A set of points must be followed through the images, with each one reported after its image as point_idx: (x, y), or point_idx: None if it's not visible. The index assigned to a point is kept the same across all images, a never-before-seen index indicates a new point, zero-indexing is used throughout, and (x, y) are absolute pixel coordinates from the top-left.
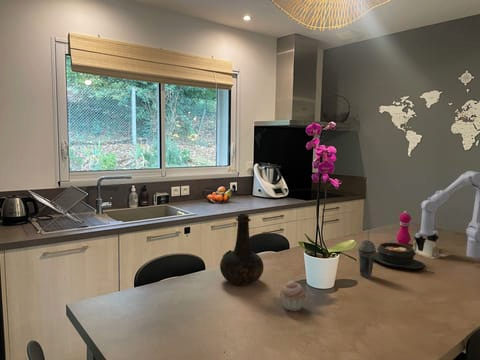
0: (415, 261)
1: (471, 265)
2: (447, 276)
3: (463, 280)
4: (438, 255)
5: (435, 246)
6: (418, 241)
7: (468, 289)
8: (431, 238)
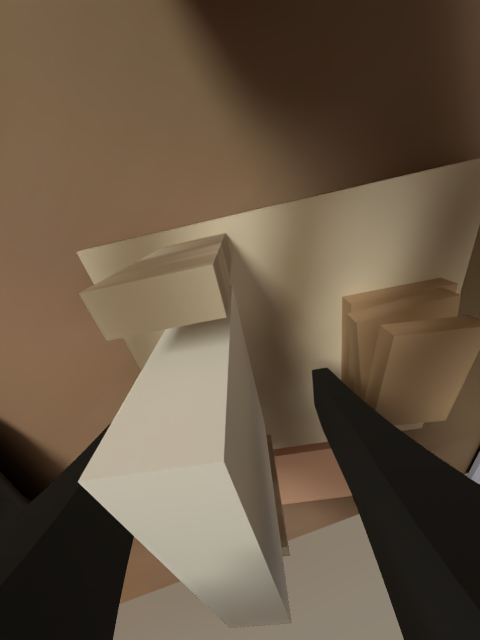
0: (8, 518)
1: (352, 507)
2: (130, 552)
3: (166, 568)
4: (304, 425)
5: (462, 358)
6: (40, 551)
7: (133, 590)
8: (416, 608)
